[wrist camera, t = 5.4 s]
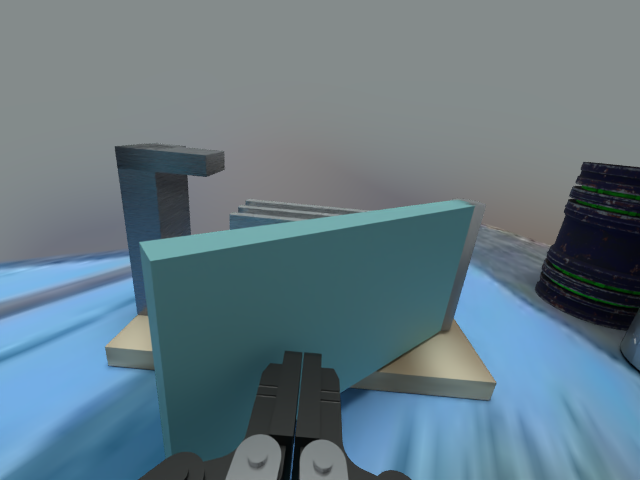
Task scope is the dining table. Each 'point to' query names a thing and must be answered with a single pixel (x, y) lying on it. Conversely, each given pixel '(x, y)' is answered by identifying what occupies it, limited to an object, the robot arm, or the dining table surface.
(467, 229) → the teal upright panel
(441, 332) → the mounting board
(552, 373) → the dining table surface
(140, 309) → the cooler block
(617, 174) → the storage jar
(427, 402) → the dining table surface
